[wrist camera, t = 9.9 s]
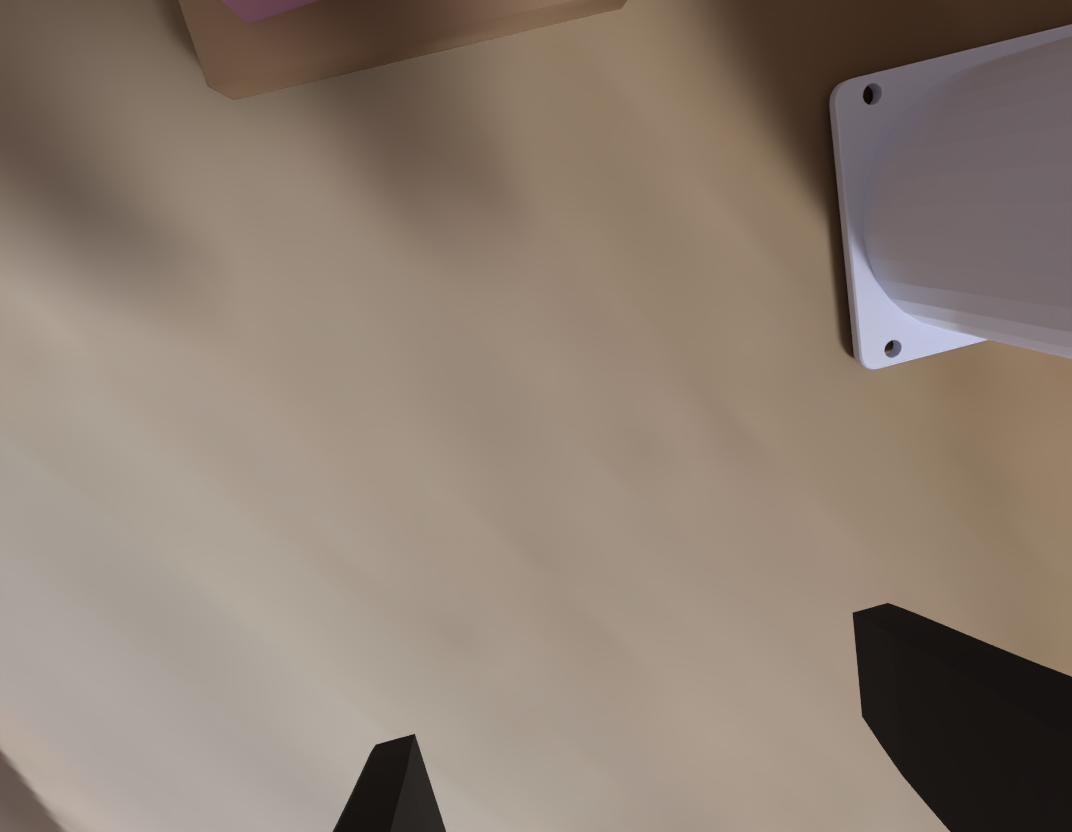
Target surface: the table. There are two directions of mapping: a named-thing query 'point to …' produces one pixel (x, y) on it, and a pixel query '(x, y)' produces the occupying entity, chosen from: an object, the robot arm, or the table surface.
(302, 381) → the table surface
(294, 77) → the walnut base block
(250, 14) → the plum top block
